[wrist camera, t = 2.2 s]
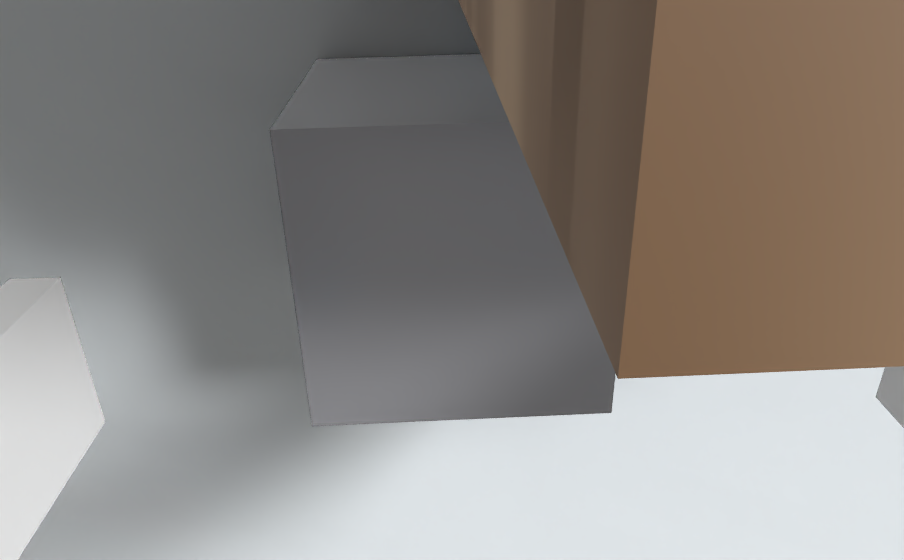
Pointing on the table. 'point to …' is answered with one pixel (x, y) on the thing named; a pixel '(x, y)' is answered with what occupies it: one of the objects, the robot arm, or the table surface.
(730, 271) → the frame
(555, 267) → the gray cube
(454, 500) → the table surface
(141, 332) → the table surface
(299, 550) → the table surface
